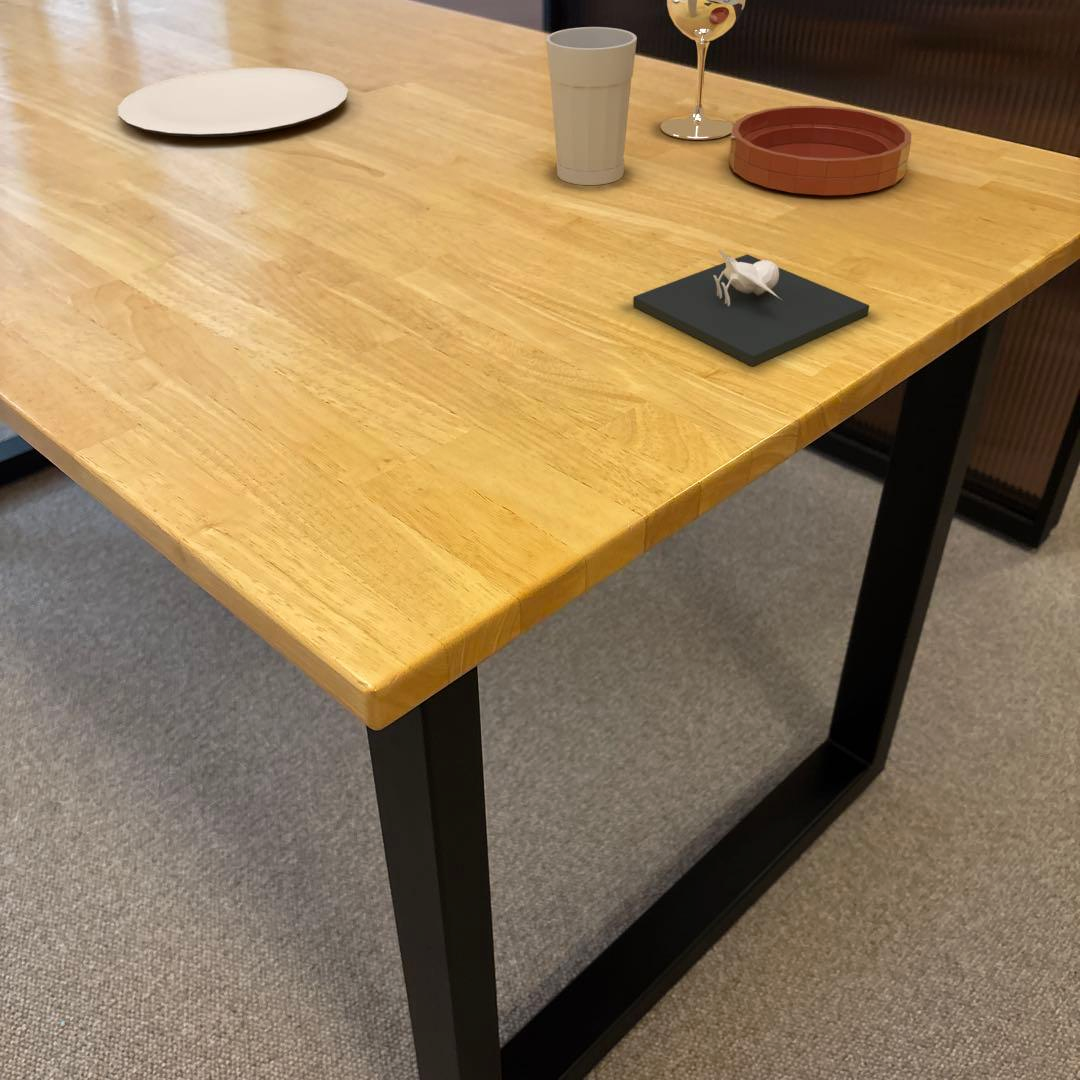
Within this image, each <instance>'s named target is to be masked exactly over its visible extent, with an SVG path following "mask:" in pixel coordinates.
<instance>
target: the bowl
mask: <svg viewBox="0 0 1080 1080" xmlns="http://www.w3.org/2000/svg"><path fill="white" fill-rule="evenodd" d="M911 144H912V132H911V131H910V130H909V129H908V128H907V127H906V126H905V125H904V124H902V123H900V122H899V121H896V120H894V119H892V118H890V117H888V116H885V115H882V114H878V113H874V112H871V111H867V110H861V109H855V108H848V107H842V106H827V105H788V106H781V107H774V108H773V107H772V108H766V109H765V108H764V109H763V110H758V111H755V112H751V113H748V114H746V115H744V116H742V117H741V118H739V119H737V120H736V121H735V122H734V123H733V128H732V132H731V133H730V143H729V145H730V147H729V156H728V163H729V166H730V167H731V170H732V171H733V172H734V173H736V174H737V175H738V176H739V177H741V178H743V179H744V180H746V181H747V182H750V183H752V184H756V185H759V186H761V187H764V188H767V189H772V190H777V191H782V192H786V193H791V194H801V195H811V196H812V195H815V196H849V195H850V196H851V195H857V194H863V193H870V192H877V191H879V190H883V189H885V188H888V187H891V186H894V185H896V184H897V183H898V182H899V181H900V180H901V179H903V178H904V176H906V171H907V165H908V162H909V161H908V160H909V157H910V156H909V155H910V149H911Z"/></svg>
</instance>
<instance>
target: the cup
mask: <svg viewBox="0 0 1080 1080" xmlns="http://www.w3.org/2000/svg"><path fill="white" fill-rule="evenodd" d="M637 40H638V37H637V35H636V34H634V33H633V32H631V31H629V30H625V29H622V28H615V27H614V28H613V27H606V26H605V27H604V26H585V27H583V26H582V27H573V28H565V29H561V30H558V31H555V32H552V33H550V34H548V35H547V37H546V49H547V62H548V70H549V80H550V91H551V103H552V116H553V128H554V139H555V152H556V177H558V178H559V179H560V180H561V181H564V182H565V183H569V184H574V185H580V186H599V185H606V184H611V183H614V182H616V181H619V180H621V179H622V178H623V176H624V173H625V158H624V155H625V146H626V136H627V126H628V115H629V106H630V95H631V88H632V87H631V85H632V79H633V76H634V67H635V57H636V49H637Z"/></svg>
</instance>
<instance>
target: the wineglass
mask: <svg viewBox="0 0 1080 1080" xmlns="http://www.w3.org/2000/svg"><path fill="white" fill-rule="evenodd" d="M746 3H747V0H665V4H666V9H667V12H668V16H669V18H670V20H671V21H672V23H673V25H674V26H675V27H676V28H677V29H678V30H679V31H680V33H682V34H683V35H685V36H686V37H687V38H688V39H690V40H693V41H695V43H696V49H697V50H696V51H697V72H696V88H695V103H694V106H693V110H692V112H691V113H690V114H689V115H688V114H687V115H679V116H673V117H671V118H668V119H666V120H664V121H663V122H662V123H661V125H660V130H661V131H662V133H664V134H665V135H667V136H670V137H673V138H676V139H681V140H688V141H708V140H709V141H710V140H717V139H721V138H725V137H727V136H729V135H731V132H732V128H733V126H734V124H732V122H730V121H729V120H727V119H724V118H722V117H717V116H712V115H706V113H705V112H704V111H705V110H704V107H703V98H704V83H705V82H704V81H705V70H706V59H707V54H708V49H709V46H710V43H711V42H712V41H714V40H717V39H718V38H720V37H722V36H724V35H725V34H726V33H727V32H728V31H729V30H730V29H731V28H733V27H734V26H735V25H736V23H737V22H738V20H739V19H740V17H741V16H742V14H743V11H744V9H745V6H746Z"/></svg>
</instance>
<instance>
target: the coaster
mask: <svg viewBox="0 0 1080 1080" xmlns="http://www.w3.org/2000/svg"><path fill="white" fill-rule="evenodd" d="M734 259H735V260H736V261H737V262H744V263H749V264H752V265H753V264H754V263H756V262H758V261H762V260H763V259H760V258H757V257H754V256H752V255H750V254H748V253H747V254H744V255H741V256H738V257H736V258H734ZM725 268H726V263H725V262H722V263H720V264H717V265H714V266H711V267H709V268H706V269H704V270H701V271H699V272H695V273H693V274H690V275H688V276H685V277H683V278H680V279H677V280H675V281H671V282H668V283H666V284H664V285H661V286H658V287H656V288H653V289H650V290H647V291H645V292H642V293H640V294H636V295H634V296H633V297H632V298H633V299H632V300H633V301H632V306H633V307H634V308H636V309H638V310H640V311H641V312H644V313H646V314H648V315H649V316H652V317H654V318H655V319H658V320H660V321H661V322H663V323H666V324H667V325H670V326H672V327H674V328H675V329H677V330H679V331H682V332H683V333H685V334H687V335H689V336H691V337H693V338H695V339H697V340H699V341H701V342H703V343H705V344H707V345H709V346H712V347H713V348H715V349H717V350H719V351H720V352H723V353H725V354H727V355H729V356H731V357H733V358H735V359H736V360H739V361H740V362H743V363H744V364H747V365H749V366H751V367H755V366H757V365H759V364H761V363H764V362H766V361H768V360H770V359H772V358H775V357H777V356H779V355H781V354H784V353H786V352H788V351H790V350H793V349H795V348H797V347H799V346H802V345H804V344H806V343H808V342H810V341H813V340H816V339H817V338H820V337H822V336H824V335H826V334H828V333H831V332H834V331H835V330H838V329H839V328H842V327H844V326H847V325H849V324H851V323H853V322H856V321H858V320H860V319H862V318H864V317H867V316H868V315H869V310H870V305H869V304H867V303H865V302H863V301H860V300H858V299H856V298H853V297H850V296H848V295H846V294H843V293H841V292H839V291H836V290H834V289H832V288H830V287H826V286H824V285H822V284H819V283H818V282H815V281H813V280H811V279H808V278H805V277H803V276H800V275H798V274H795V273H793V272H791V271H788V270H786V269H783V268H781V267H779V266H778V269H779V279H778V282H777V284H776V285H775V286H774V287H773V288H772V289H770V290H772V291H773V292H774V293H775V294H776V295H777V296H778V297H779V298H778V297H777V296H775V295H773V294H772V293H770V292H769V291H765V292H764V293H762V294H760V295H759V296H758V295H756V294H755V293H754V292H752V293H743V292H741V291H738V290H736V289H735V288H734V287H733V286H732V284H730V285H729V287H728V290H727V292H728V295H729V298H730V305H729V306H728V304H727V303H726V304H725V293H724V288H723V286H722V283H724V284H725V286H727V284H728V282H729V280H728V279H727V277H726V276H725V275H724V274H723V276H722V278H721V279H720V282H719V284H720V287H721V290H722V298H721V299H720V297H719V296H718V297H717V285H716V281H715V278H714V276H713V275H716V277H717V279H719V277H720V275H721V273H722V271H724V269H725ZM721 282H722V283H721ZM781 299H782V300H781Z"/></svg>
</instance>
